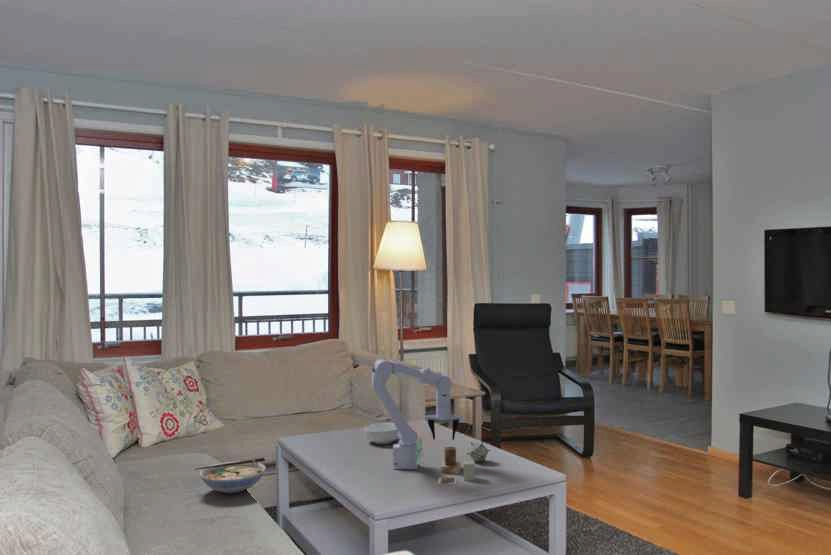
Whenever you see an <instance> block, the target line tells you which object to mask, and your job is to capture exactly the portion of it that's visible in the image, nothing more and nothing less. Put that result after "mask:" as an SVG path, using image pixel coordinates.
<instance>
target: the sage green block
mask: <svg viewBox="0 0 831 555" xmlns="http://www.w3.org/2000/svg"><path fill="white" fill-rule="evenodd" d="M475 463H476V462H475V461H474V460H464V461H463V481H469V482H470V481H474V482H475V481H476V473H475V472H476V467H475V466H476V464H475Z"/></svg>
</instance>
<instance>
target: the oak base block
mask: <svg viewBox="0 0 831 555" xmlns="http://www.w3.org/2000/svg"><path fill="white" fill-rule="evenodd" d="M440 471H441V472H440V473H441V474H451V475H452V474H455V475H457V474H461V461H457V460H456V465H449V466H446V465H445V460H444V461H443V460H442V462H441V466H440Z"/></svg>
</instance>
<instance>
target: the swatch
mask: <svg viewBox="0 0 831 555" xmlns="http://www.w3.org/2000/svg"><path fill="white" fill-rule="evenodd" d="M438 485H457V477H438Z"/></svg>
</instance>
